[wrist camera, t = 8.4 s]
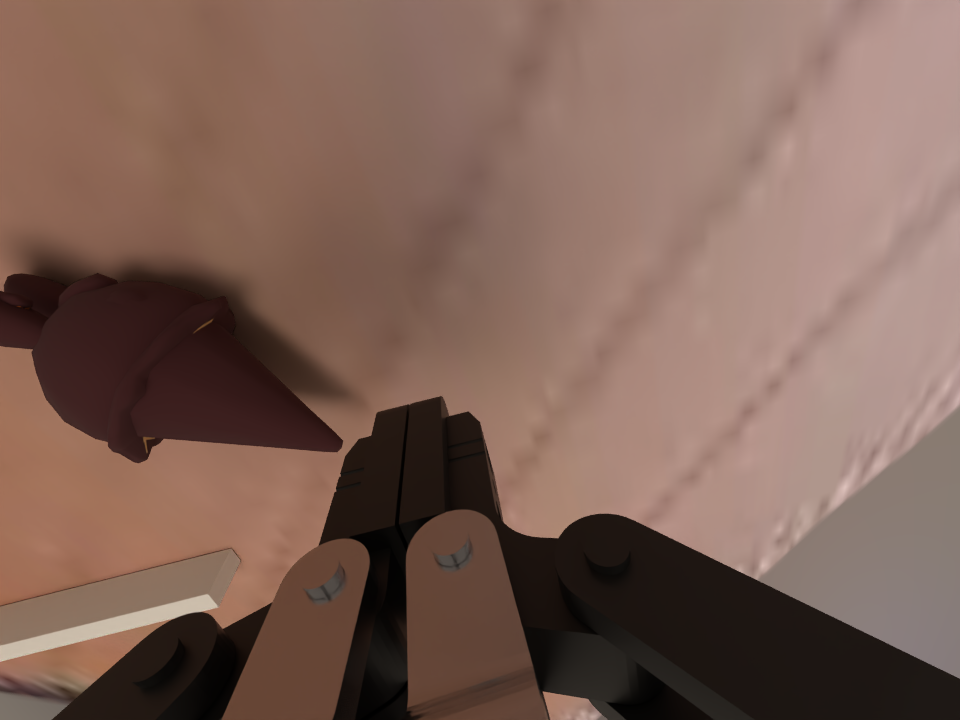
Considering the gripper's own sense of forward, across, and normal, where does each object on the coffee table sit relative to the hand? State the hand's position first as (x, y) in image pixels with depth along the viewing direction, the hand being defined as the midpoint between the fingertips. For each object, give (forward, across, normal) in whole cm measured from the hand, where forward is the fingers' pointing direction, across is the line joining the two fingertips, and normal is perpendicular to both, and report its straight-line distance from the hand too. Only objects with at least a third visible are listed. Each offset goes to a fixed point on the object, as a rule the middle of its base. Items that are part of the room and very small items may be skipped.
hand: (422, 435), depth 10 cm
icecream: (+12, +11, -1) cm, 16 cm away
